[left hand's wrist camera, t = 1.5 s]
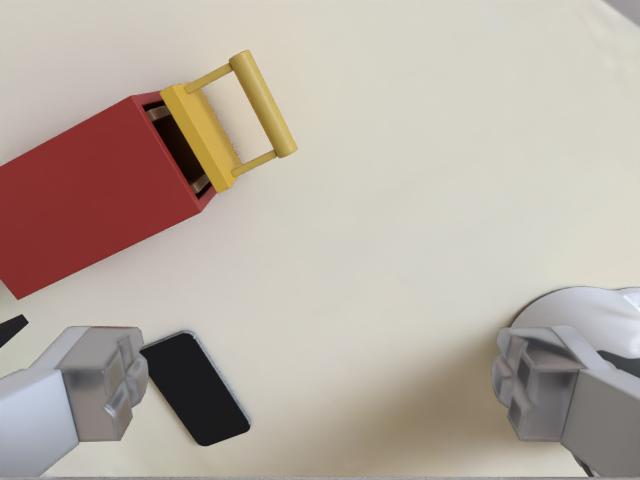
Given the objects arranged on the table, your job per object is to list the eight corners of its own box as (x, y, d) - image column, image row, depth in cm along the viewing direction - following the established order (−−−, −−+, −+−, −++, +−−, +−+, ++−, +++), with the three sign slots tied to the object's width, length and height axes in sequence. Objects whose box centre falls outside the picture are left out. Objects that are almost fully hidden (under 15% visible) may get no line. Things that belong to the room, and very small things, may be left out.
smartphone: (189, 330, 49) (253, 429, 54) (191, 326, 50) (254, 425, 55) (132, 353, 50) (200, 449, 55) (134, 350, 51) (201, 444, 56)
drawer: (256, 49, 39) (242, 47, 32) (300, 141, 42) (296, 155, 35) (40, 165, 43) (-11, 183, 36) (94, 241, 45) (56, 272, 39)
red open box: (169, 88, 41) (131, 95, 33) (224, 184, 44) (201, 212, 36) (9, 175, 44) (-64, 201, 36) (71, 258, 47) (17, 300, 39)
